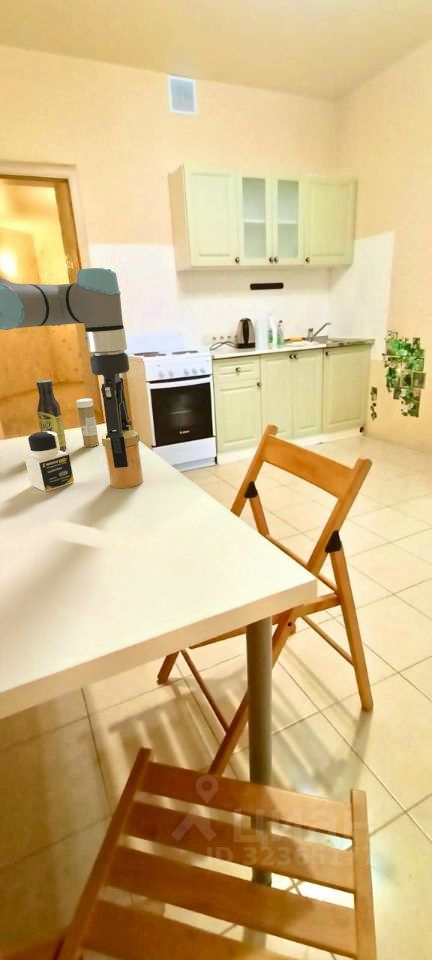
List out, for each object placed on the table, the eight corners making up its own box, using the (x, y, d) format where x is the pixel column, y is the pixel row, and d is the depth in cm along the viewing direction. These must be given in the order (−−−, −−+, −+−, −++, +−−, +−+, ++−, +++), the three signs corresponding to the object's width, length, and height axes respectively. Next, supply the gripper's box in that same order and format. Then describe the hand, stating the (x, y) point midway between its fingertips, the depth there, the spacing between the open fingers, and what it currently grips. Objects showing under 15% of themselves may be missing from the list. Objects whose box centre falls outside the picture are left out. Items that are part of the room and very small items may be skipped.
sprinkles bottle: (81, 445, 132) (73, 399, 127) (96, 442, 134) (89, 397, 130) (86, 448, 129) (78, 401, 124) (101, 445, 131) (94, 399, 126)
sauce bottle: (40, 452, 127) (25, 382, 120) (58, 446, 132) (45, 378, 125) (54, 455, 124) (39, 383, 117) (72, 449, 129) (59, 379, 122)
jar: (103, 486, 99) (96, 440, 95) (125, 475, 104) (118, 431, 101) (129, 490, 95) (122, 442, 91) (149, 478, 101) (144, 433, 97)
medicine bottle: (45, 492, 97) (34, 439, 93) (30, 485, 102) (18, 434, 98) (74, 482, 102) (65, 431, 98) (59, 476, 107) (49, 427, 102)
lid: (94, 446, 95) (93, 438, 94) (118, 436, 102) (117, 429, 101) (124, 449, 92) (123, 440, 91) (146, 439, 98) (145, 431, 97)
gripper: (98, 350, 99) (113, 448, 107) (78, 359, 80) (98, 478, 88) (132, 348, 100) (145, 446, 108) (120, 356, 80) (136, 475, 88)
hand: (123, 460), depth 98 cm, fingers closed on lid, 8 cm apart
